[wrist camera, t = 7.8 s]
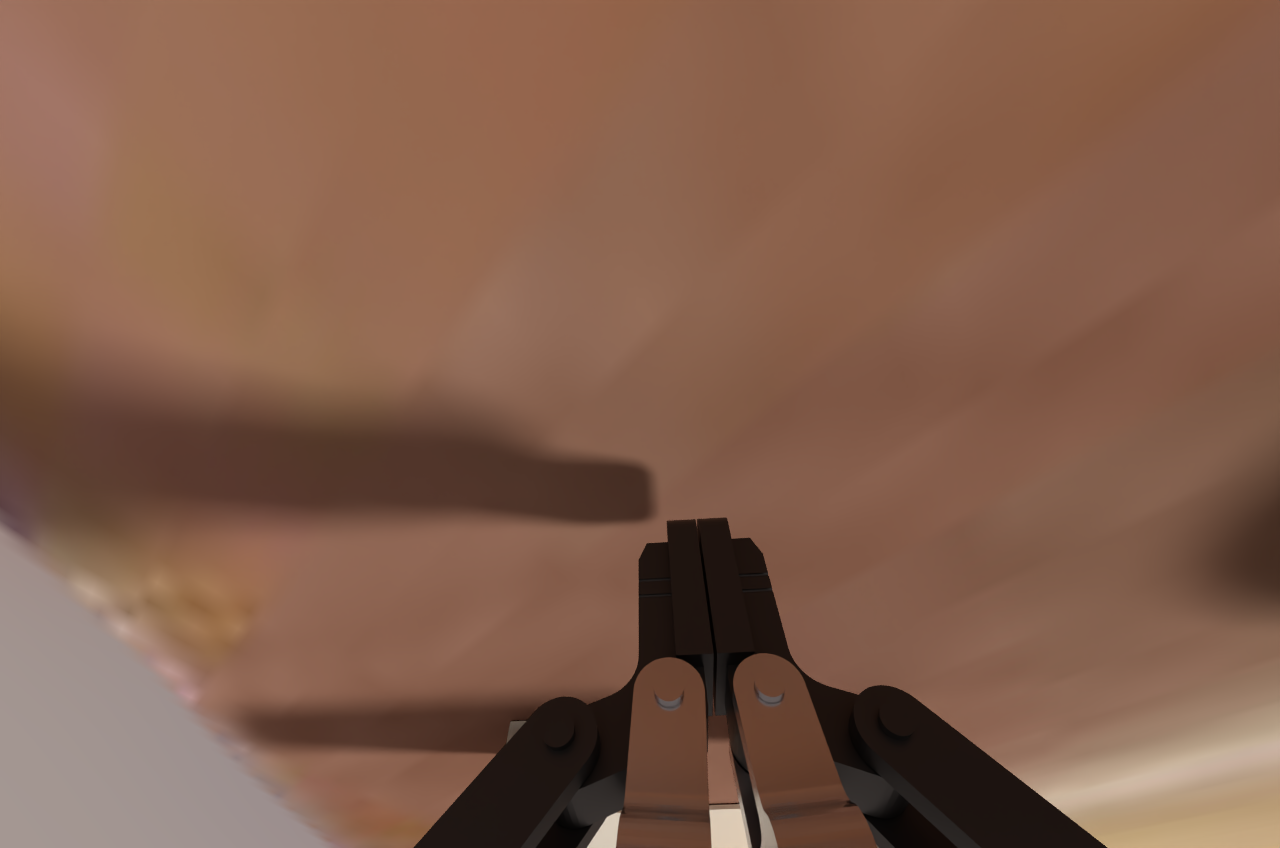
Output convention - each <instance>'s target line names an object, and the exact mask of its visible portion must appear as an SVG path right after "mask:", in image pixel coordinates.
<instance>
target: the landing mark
mask: <svg viewBox="0 0 1280 848" xmlns="http://www.w3.org/2000/svg"><path fill="white" fill-rule="evenodd" d="M621 811H622V810H621ZM621 811H619V812H617V813H615V814H612V815H610V816H608V817H607V818H606V819H605V821H604V823H603V824H602V826H601V827H600V829H599V830H598V832H597V833H596V835H595V836H594V838H593V839H592V841H591V842H590V844H589V845H588V847H587V848H616V842H617V832H618V824H619V818H620V814H621ZM709 812H710V824H711V846H712V848H748V843H747V838H746V833H745V828H744V824H743V819H742V814H741V809H740V804H727V805H709Z"/></svg>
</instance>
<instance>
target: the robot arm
mask: <svg viewBox="0 0 1280 848" xmlns="http://www.w3.org/2000/svg"><path fill="white" fill-rule="evenodd" d="M667 535H668V542H663V543H647V544H646V546H645V548H644V550H643V552H642V554H641V557H640V559H639V661H638V665H637V668H636V671H635V673H634V675H633V677H632V678H631V680H630V681H629V682H628V683H627V685H625V686H624V687H623V688H622V689H621V690H619V691H618V692H616V693H615V694H613V695H611V696H608V697H606V698H603V699H601V700H598V701H596V702H593V703H591V704H588V705H587V704H586V703H584V702H583V701H581V700H579V699H576V698H572V697H559V698H555V699H552V700H550V701H548V702H546V703H544V704H543V705H542V706H540V707H539V708H538V709H537V710H536V711H535V712H534V713H533V714H532V715H531V716H530V718H529V719H528V720H527V721H526V722H525V723H524V724H523V725H522V726H521V728H520V729H519V730H518V731H517V732H516V733H515V734H514V735H513V737H512V738H511V739H510V740H509V741H508V742H507V743H506V744H505V746H504V747H503V748H502V749H501V750H500V751H499V752H498V753H497V755H496V756H495V757H494V758H493V759H492V760H491V761H490V762H489V764H488V765H487V766H486V767H485V768H484V769H483V770H482V771H481V773H480V774H479V775H478V776H477V777H476V778H475V779H474V780H473V782H472V783H471V784H470V785H469V786H468V787H467V788H466V789H465V791H464V792H463V793H462V794H461V795H460V796H459V797H458V798H457V799H456V801H455V802H454V803H453V804H452V805H451V806H450V807H449V808H448V810H447V811H446V812H445V813H444V814H443V815H442V816H441V817H440V819H439V820H438V821H437V822H436V823H435V824H434V825H433V826H432V828H431V829H430V830H429V831H428V832H427V833H426V834H425V835H424V837H423V838H422V839H421V840H420V841H419V842H418V843H417V844H416V846H415V847H414V848H587V847H588V845H589V844H590V842H591V841H592V839H593V838H594V836H595V835H596V833H597V832H598V830H599V829H600V827H601V826H602V824H603V823H604V821H605V819H606V818H607V817H608V816H610V815H612V814H615V813H617V812H619V811H621V810H622V811H621V814H620V818H619V824H618V832H617V842H616V848H712V846H711V824H710V812H709V789H708V762H707V752H708V716H712V711H713V700H714V708H715V715H726V717H727V724H728V731H729V738H730V742H729V755H730V761H731V766H732V770H733V775H734V780H735V785H736V790H737V795H738V799H739V804H740V809H741V814H742V819H743V824H744V828H745V833H746V838H747V843H748V848H877V846H878V847H879V848H1107V847H1106V846H1105V845H1103V844H1102V843H1101V842H1099V841H1098V840H1097V839H1096V838H1094V837H1093V836H1092V835H1090V834H1089V833H1088V832H1087V831H1085V830H1084V829H1083V828H1081V827H1080V826H1079V825H1078V824H1076V823H1075V822H1074V821H1072V820H1071V819H1070V818H1069V817H1067V816H1066V815H1065V814H1063V813H1062V812H1061V811H1060V810H1058V809H1057V808H1056V807H1054V806H1053V805H1052V804H1051V803H1049V802H1048V801H1047V800H1045V799H1044V798H1043V797H1042V796H1040V795H1039V794H1038V793H1036V792H1035V791H1034V790H1033V789H1031V788H1030V787H1029V786H1027V785H1026V784H1025V783H1024V782H1022V781H1021V780H1020V779H1018V778H1017V777H1016V776H1015V775H1013V774H1012V773H1011V772H1009V771H1008V770H1007V769H1005V768H1004V767H1003V766H1002V765H1000V764H999V763H998V762H996V761H995V760H994V759H993V758H991V757H990V756H989V755H987V754H986V753H985V752H984V751H982V750H981V749H980V748H978V747H977V746H976V745H975V744H973V743H972V742H971V741H969V740H968V739H967V738H966V737H964V736H963V735H962V734H960V733H959V732H958V731H957V730H955V729H954V728H953V727H951V726H950V725H949V724H948V723H946V722H945V721H944V720H942V719H941V718H940V717H939V716H937V715H936V714H935V713H933V712H932V711H931V710H930V709H928V708H927V707H926V706H924V705H923V704H922V703H921V702H919V701H918V700H917V699H915V698H914V697H913V696H911V695H910V694H908V693H906V692H904V691H902V690H900V689H897V688H895V687H891V686H884V685H879V686H872V687H869V688H867V689H865V690H864V691H862V692H861V693H860V694H859V695H857V694H854V693H850V692H846V691H843V690H839V689H836V688H832V687H829V686H826V685H823V684H821V683H819V682H817V681H815V680H813V679H812V678H810V677H809V676H808V675H806V674H805V673H804V672H803V671H802V670H801V669H800V668H799V667H798V666H797V664H796V663H795V662H794V660H793V658H792V656H791V654H790V652H789V649H788V645H787V642H786V638H785V634H784V631H783V627H782V623H781V619H780V616H779V612H778V608H777V605H776V601H775V597H774V594H773V592H772V586H771V582H770V579H769V576H768V571H767V568H766V564H765V560H764V557H763V553H762V552H761V551H760V550H759V549H758V547H757V546H756V545H755V544H754V542H753V541H752V540H751V539H750V538H738V539H731V534H730V529H729V525H728V521H727V518H709V519H697V527H696V521H695V519H693V520H674V521H667Z"/></svg>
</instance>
